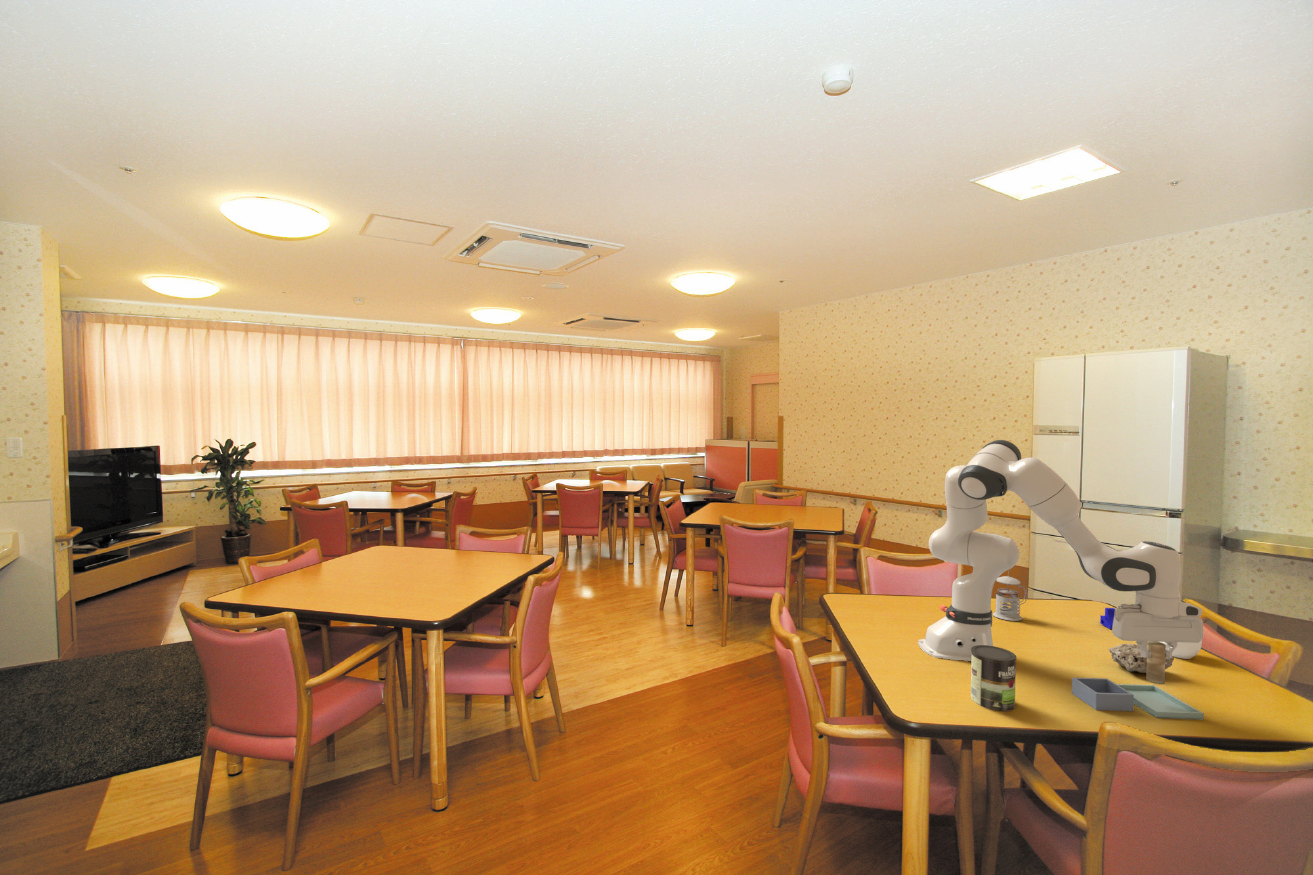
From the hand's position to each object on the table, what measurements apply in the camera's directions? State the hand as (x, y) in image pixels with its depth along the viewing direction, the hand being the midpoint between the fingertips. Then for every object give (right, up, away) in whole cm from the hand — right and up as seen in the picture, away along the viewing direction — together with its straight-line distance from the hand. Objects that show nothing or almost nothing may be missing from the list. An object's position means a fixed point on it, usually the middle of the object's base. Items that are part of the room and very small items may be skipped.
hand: (1155, 657), depth 149 cm
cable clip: (+36, -12, +56) cm, 68 cm away
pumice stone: (+14, -13, +21) cm, 28 cm away
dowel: (0, -6, 0) cm, 6 cm away
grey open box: (-13, -13, +2) cm, 19 cm away
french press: (+5, -11, +70) cm, 71 cm away
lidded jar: (+37, -13, +34) cm, 52 cm away
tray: (0, -13, +1) cm, 13 cm away
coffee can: (-42, -13, +1) cm, 44 cm away
